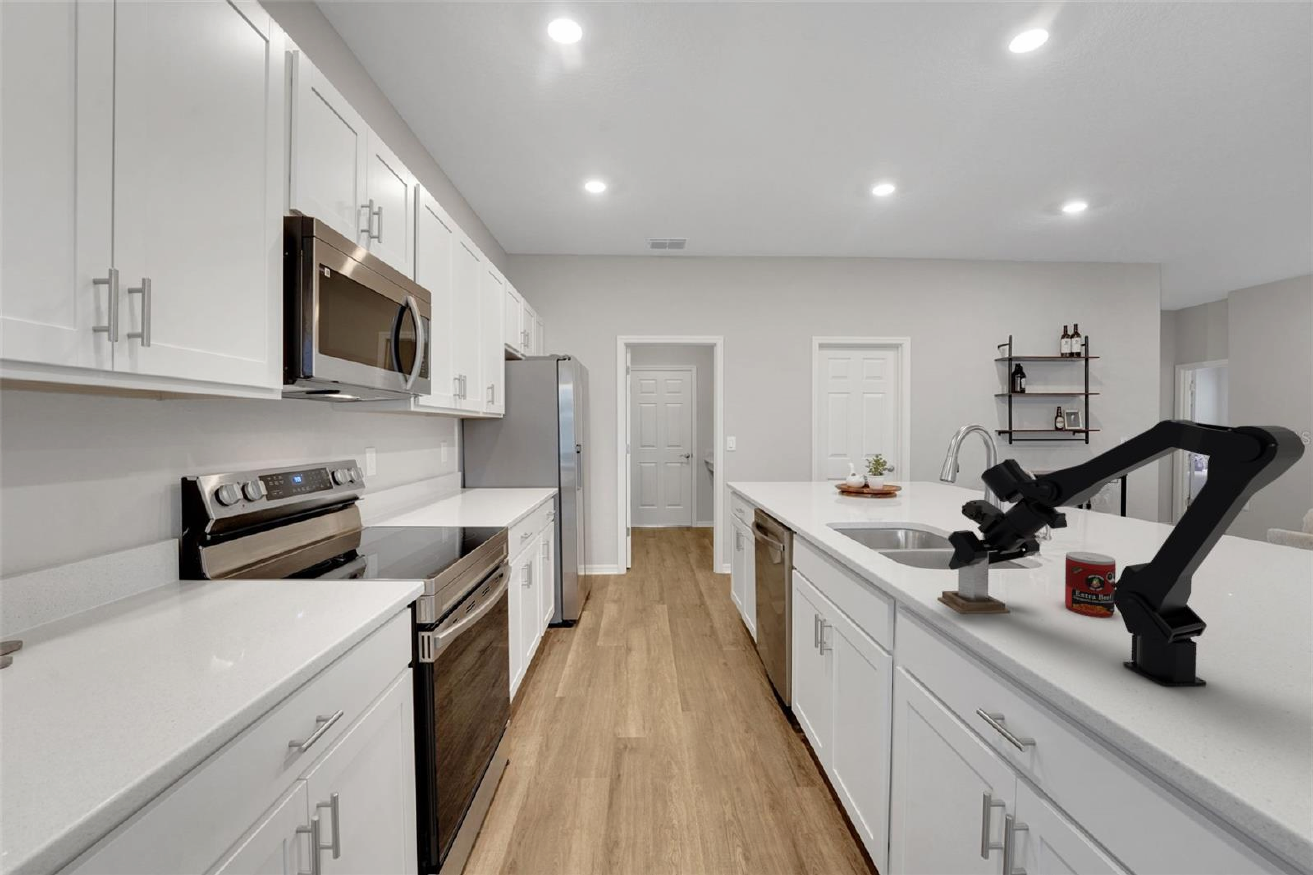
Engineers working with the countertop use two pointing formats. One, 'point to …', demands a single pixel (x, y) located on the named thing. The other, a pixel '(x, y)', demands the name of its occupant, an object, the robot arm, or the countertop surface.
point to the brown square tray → (972, 604)
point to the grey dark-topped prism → (974, 582)
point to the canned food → (1090, 583)
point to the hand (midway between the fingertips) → (966, 565)
